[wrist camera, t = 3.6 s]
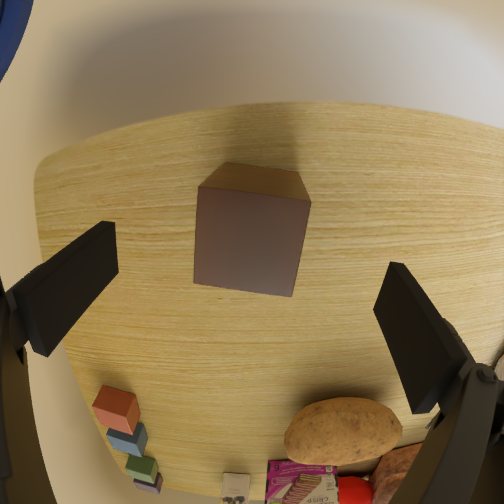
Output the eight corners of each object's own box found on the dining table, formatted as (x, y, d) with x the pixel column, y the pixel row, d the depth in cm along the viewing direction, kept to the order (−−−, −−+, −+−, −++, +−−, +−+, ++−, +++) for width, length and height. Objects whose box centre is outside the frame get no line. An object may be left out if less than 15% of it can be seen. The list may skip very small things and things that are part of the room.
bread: (476, 449, 42) (488, 486, 31) (361, 482, 45) (366, 527, 34) (510, 407, 35) (529, 449, 24) (380, 448, 38) (391, 506, 27)
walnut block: (217, 231, 24) (193, 283, 17) (224, 162, 21) (197, 186, 14) (287, 241, 24) (291, 298, 16) (298, 172, 21) (311, 201, 14)
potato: (378, 422, 34) (388, 469, 27) (279, 424, 35) (277, 476, 27) (405, 378, 30) (424, 431, 23) (290, 378, 30) (291, 440, 23)
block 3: (130, 452, 44) (124, 468, 40) (155, 459, 44) (150, 475, 40) (135, 461, 46) (130, 476, 42) (158, 468, 46) (154, 483, 42)
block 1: (102, 384, 34) (91, 405, 31) (135, 394, 34) (125, 417, 31) (110, 404, 37) (100, 424, 33) (140, 414, 36) (132, 435, 33)
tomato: (373, 460, 40) (380, 501, 32) (374, 480, 45) (379, 514, 37) (298, 475, 43) (298, 515, 35) (310, 492, 47) (311, 526, 39)
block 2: (114, 415, 38) (105, 434, 34) (143, 424, 38) (136, 444, 34) (120, 430, 40) (113, 448, 36) (148, 438, 40) (141, 457, 36)
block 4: (137, 466, 47) (133, 481, 44) (160, 473, 47) (156, 488, 44) (141, 474, 49) (137, 488, 46) (163, 480, 49) (159, 494, 46)
